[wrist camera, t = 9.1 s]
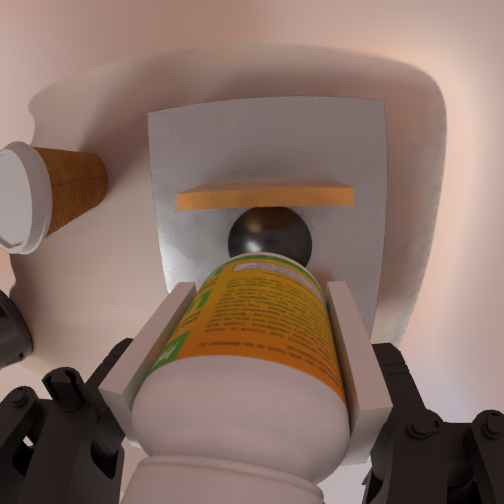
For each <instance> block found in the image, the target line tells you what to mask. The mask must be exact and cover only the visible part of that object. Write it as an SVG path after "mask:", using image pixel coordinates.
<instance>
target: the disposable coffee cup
mask: <svg viewBox="0 0 504 504" xmlns="http://www.w3.org/2000/svg"><path fill="white" fill-rule="evenodd" d="M106 189H107V175H106V170H105V167H104V165H103V163H102V162H101V160H100V159H99V158H98V157H96V156H95V155H93V154H89V153H81V152H73V151H65V150H57V149H47V148H37V147H32V146H29V145H27V144H26V143H24V142H13V143H10V144H8V145H7V146H6V147H4V149H1V150H0V247H1V248H2V249H3V250H5V251H7V252H8V253H11V254H14V253H19V254H29V253H31V252H33V251H35V250H36V249H37V247H38V246H39V245H40V244H41V242H42V241H43V240H44V238H46V237H47V236H49V235H51V234H52V233H53V232H55V231H57V230H58V229H60V228H61V227H63V226H64V225H66V224H67V223H69V222H71V221H72V220H74V219H75V218H77V217H79V216H80V215H82V214H84V213H85V212H87V211H89V210H90V209H92V208H94V207H96V206H97V205H98V204H99V203H100V202H101V201H102V199H103V197H104V195H105V192H106Z"/></svg>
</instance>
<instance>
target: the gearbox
mask: <svg viewBox="0 0 504 504" xmlns="http://www.w3.org/2000/svg"><path fill="white" fill-rule="evenodd" d="M147 116H148V138H149V153H150V166H151V178H152V188H153V198H154V207H155V215H156V223H157V230H158V237H159V244H160V251H161V257H162V263H163V269H164V275H165V281H166V286H167V291H168V295H169V294H170V292H171V291H172V290H173V289H174V287H175V286H176V285H177V284H178V282H196V289H197V293H198V291H199V289H200V288H201V286H202V284H203V283H204V281H205V280H206V279H207V277H208V276H209V275H210V273H211V272H212V271H213V270H214V269H215V268H216V267H218V266H219V265H220V264H221V263H223V262H225V261H226V260H228V259H230V258H232V257H235V256H238V255H241V254H245V253H252V252H268V253H274V254H278V255H282V256H285V257H287V258H290V259H292V260H294V261H295V262H297V263H299V264H300V265H302V266H303V267H304V268H306V269H307V270H308V271H309V272H310V273H311V274H312V275H313V277H314V278H315V279H316V281H317V282H318V284H319V286H320V288H321V290H322V293H323V295H324V299H325V302H326V294H327V282H336V281H346V284H347V286H348V288H349V291H350V293H351V295H352V298H353V300H354V302H355V305H356V307H357V310H358V312H359V314H360V317H361V319H362V322H363V324H364V327H365V329H366V332H367V335H368V337H369V340H370V338H371V333H372V328H373V322H374V317H375V311H376V305H377V298H378V291H379V284H380V276H381V268H382V259H383V248H384V237H385V222H386V201H387V143H386V123H385V109H384V101H382V100H372V99H361V98H347V97H326V96H281V97H259V98H245V99H234V100H224V101H215V102H207V103H200V104H193V105H187V106H181V107H175V108H169V109H164V110H159V111H154V112H149V113H147Z"/></svg>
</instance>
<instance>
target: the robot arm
mask: <svg viewBox="0 0 504 504" xmlns="http://www.w3.org/2000/svg"><path fill="white" fill-rule="evenodd" d="M196 294H197V289H196V282H178V284H177V285H176V286H175V287H174V289H173V290H172V291H171V292H170V294H169V295H168V296H167V297H166V299H165V300H164V301H163V302H162V304H161V305H160V306H159V308H158V309H157V310H156V311H155V313H154V314H153V315H152V316H151V318H150V319H149V320H148V322H147V323H146V324H145V325H144V327H143V328H142V329H141V331H140V332H139V333H138V335H137V336H136V337H135V339H131V338H126V339H124V340H123V341H121V342H120V343H118V344H117V345H115V347H114V348H113V349H112V350H111V351H110V353H109V354H108V356H106V358H105V359H104V360H103V363H101V364H100V365H99V366H98V368H97V369H96V370H95V372H94V373H93V374H92V375H91V377H90V378H89V379H88V380H87V382H86V383H85V384H84V382H83V380H82V378H81V376H80V374H79V372H78V371H77V370H75V369H74V368H70V367H60V368H57V369H54V370H52V371H51V372H49V373H48V374H46V375H45V376H44V378H43V379H42V382H43V384H44V385H45V387H46V389H47V390H48V392H49V394H50V396H51V397H52V399H53V400H49V399H39V398H38V396H37V394H36V393H35V391H34V390H33V389H32V388H31V387H28V386H21V387H17V388H15V389H14V390H12V391H11V392H10V393H9V394H8V395H7V396H6V397H5V398H4V399H3V401H2V402H1V403H0V504H119V499H120V489H121V480H122V472H123V465H124V458H125V452H124V448H123V447H122V445H121V444H122V442H123V440H124V438H125V436H126V438H127V439H128V441H129V442H130V444H131V445H132V446H134V447H138V448H141V449H142V447H141V446H140V444H139V442H138V440H137V438H136V436H135V433H134V430H133V426H132V408H133V404H134V401H135V398H136V395H137V394H138V392H139V390H140V388H141V386H142V384H143V382H144V380H145V379H146V377H147V375H148V374H149V372H150V371H151V369H152V367H153V365H154V364H155V362H156V360H157V359H158V357H159V355H160V354H161V352H162V350H163V349H164V347H165V345H166V344H167V342H168V340H169V339H170V337H171V336H172V334H173V332H174V331H175V329H176V327H177V326H178V324H179V322H180V321H181V319H182V317H183V316H184V314H185V312H186V311H187V309H188V308H189V306H190V304H191V303H192V301H193V299H194V298H195V296H196ZM326 306H327V310H328V314H329V320H330V324H331V329H332V333H333V338H334V343H335V348H336V352H337V357H338V362H339V367H340V372H341V377H342V381H343V387H344V392H345V397H346V402H347V408H348V415H349V426H350V442H349V447H348V450H347V453H346V455H345V457H344V459H343V461H342V463H341V464H340V466H344V465H353V464H360V463H366V461H367V459H368V457H369V455H370V456H371V462H372V467H371V469H370V471H369V472H368V474H367V475H366V477H365V479H364V481H363V483H362V485H365V484H366V488H365V493H364V497H363V501H362V504H504V414H502V413H501V412H499V411H496V410H484V411H483V412H481V413H479V414H478V415H477V416H476V418H475V419H474V420H473V422H472V423H448V422H443V420H442V419H441V418H440V416H438V414H436V413H435V412H433V411H431V410H428V409H426V408H425V406H424V403H423V401H422V398H421V396H420V394H419V392H418V389H417V387H416V385H415V383H414V380H413V378H412V376H411V374H410V373H409V369H408V367H407V365H405V361H404V359H403V357H402V354H401V352H400V351H399V350H398V349H397V348H396V347H395V346H393V345H392V344H391V343H380V344H371V342H370V340H369V337H368V335H367V332H366V329H365V327H364V324H363V322H362V319H361V317H360V314H359V312H358V310H357V307H356V305H355V302H354V300H353V298H352V295H351V293H350V291H349V288H348V286H347V284H346V281H336V282H327V294H326ZM31 352H32V342H31V338H30V334H29V332H28V329H27V327H26V325H25V323H24V321H23V319H22V317H21V315H20V313H19V312H18V310H17V308H16V307H15V305H14V304H13V303H12V301H11V300H10V299H9V298H8V296H7V295H6V294H5V293H4V292H2V291H1V290H0V370H1V369H2V368H4V367H7V366H9V365H12V364H15V363H18V362H20V361H23V360H24V359H26V358H27V357H28V356H29V355H30V354H31ZM26 436H27V437H28V438H29V439H30V441H31V442H32V443H33V445H32V446H27V445H26V444H25V443H24V442H23V439H24V438H25V437H26Z"/></svg>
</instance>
